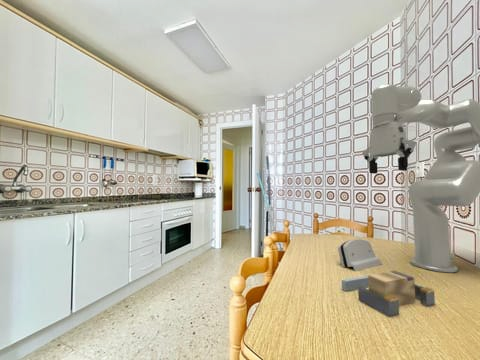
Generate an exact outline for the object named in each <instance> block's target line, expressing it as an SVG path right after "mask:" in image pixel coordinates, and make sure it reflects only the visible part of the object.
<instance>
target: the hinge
mask: <svg viewBox="0 0 480 360" xmlns="http://www.w3.org/2000/svg"><path fill="white" fill-rule="evenodd" d="M337 252H338V254H339V255H338V256H339V261H340V264H341V267H342V268H346V267H348V268H350V267H352V268H353V271H354V272H358V271H361V270H362V271H363V270H366V269H370V268H372V267H376V266H380V265H382V261H381V259H380V258H379V257H378V256H376V254H375V251H374V250H373V247H372V244H371V243H370V241H368V240H366V239H359V238H358V239H357V238H355V239H349V240H346V241H344V242H343V243H340V244H339V245H338V246H337Z"/></svg>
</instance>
